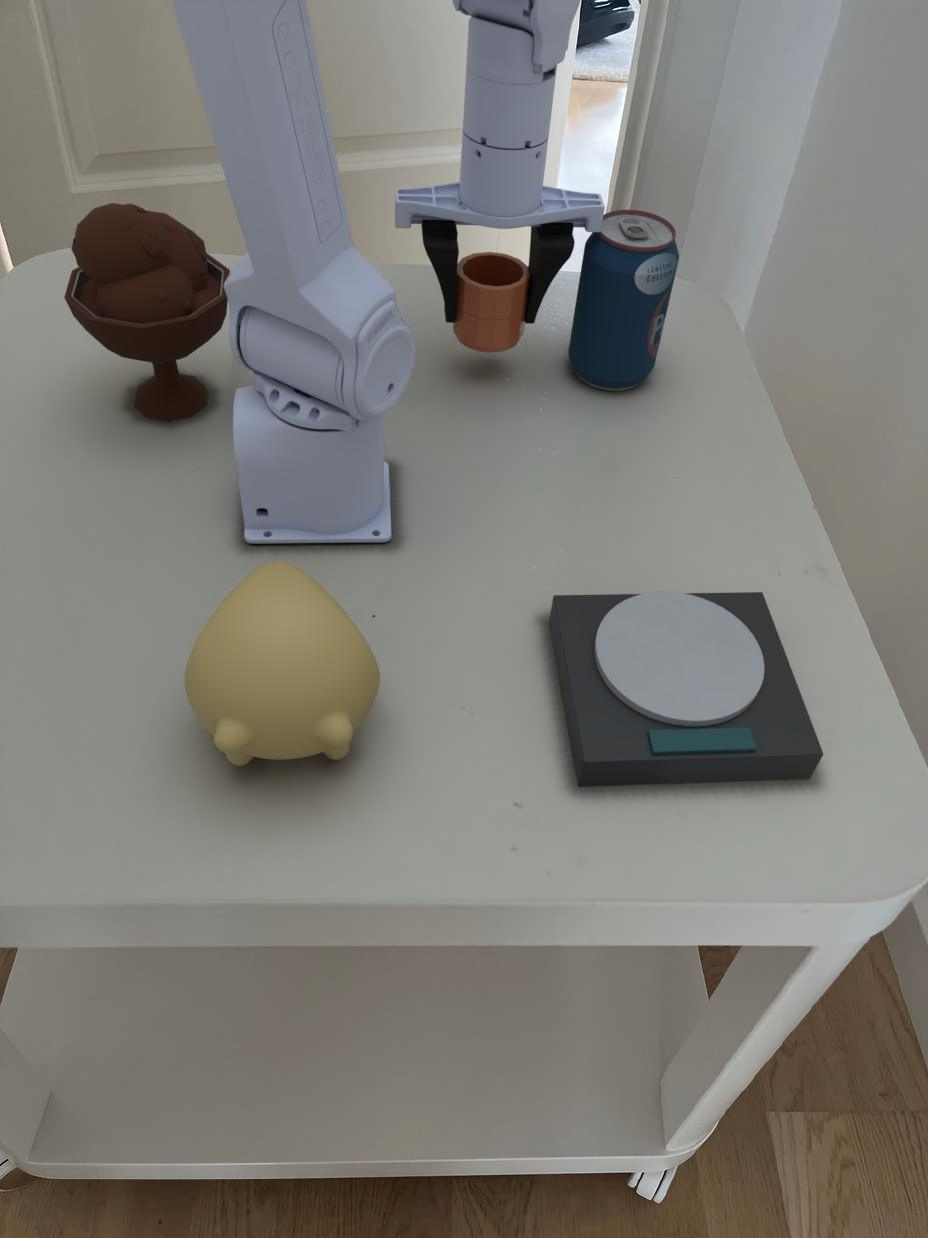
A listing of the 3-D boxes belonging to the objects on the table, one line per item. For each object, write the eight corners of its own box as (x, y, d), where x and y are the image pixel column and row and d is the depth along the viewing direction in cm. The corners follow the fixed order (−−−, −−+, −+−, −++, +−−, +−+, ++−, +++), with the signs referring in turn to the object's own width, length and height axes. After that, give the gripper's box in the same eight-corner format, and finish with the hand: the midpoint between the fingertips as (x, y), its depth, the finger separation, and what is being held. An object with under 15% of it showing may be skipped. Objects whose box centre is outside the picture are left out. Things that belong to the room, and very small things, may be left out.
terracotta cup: (455, 354, 75) (459, 288, 71) (450, 315, 79) (453, 250, 75) (526, 355, 76) (534, 289, 72) (518, 316, 80) (525, 252, 76)
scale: (577, 787, 54) (585, 755, 52) (548, 621, 62) (554, 587, 60) (810, 779, 55) (828, 748, 53) (752, 617, 63) (765, 584, 61)
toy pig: (374, 748, 59) (372, 567, 59) (387, 779, 47) (383, 553, 47) (204, 753, 58) (201, 569, 58) (172, 787, 46) (169, 555, 46)
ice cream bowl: (216, 454, 71) (185, 255, 60) (68, 428, 72) (10, 228, 61) (266, 371, 78) (246, 179, 67) (130, 348, 79) (88, 156, 68)
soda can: (662, 394, 79) (697, 250, 70) (576, 397, 78) (601, 252, 69) (638, 344, 84) (668, 204, 75) (557, 347, 83) (578, 205, 74)
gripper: (603, 110, 70) (575, 289, 80) (394, 104, 68) (392, 287, 78) (621, 154, 65) (589, 339, 75) (397, 148, 63) (395, 337, 74)
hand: (489, 316), depth 76 cm, fingers closed on terracotta cup, 5 cm apart
